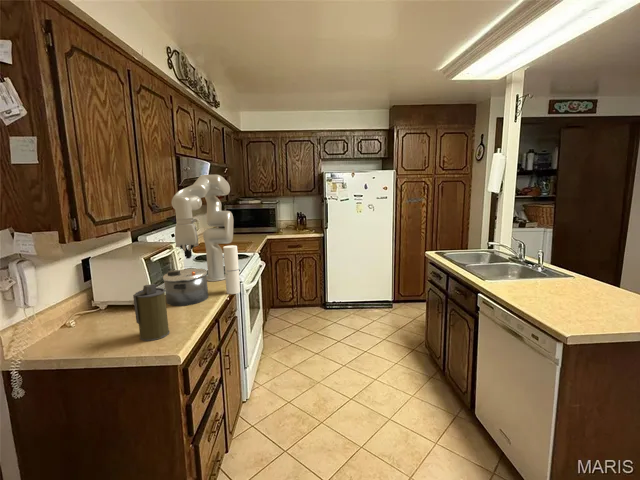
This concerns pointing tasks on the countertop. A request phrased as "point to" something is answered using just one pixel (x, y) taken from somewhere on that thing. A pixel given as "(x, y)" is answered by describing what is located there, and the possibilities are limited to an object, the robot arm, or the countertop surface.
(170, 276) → the cooker lid
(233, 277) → the cylindrical container
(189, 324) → the countertop surface
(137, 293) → the canister
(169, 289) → the cooker pot
